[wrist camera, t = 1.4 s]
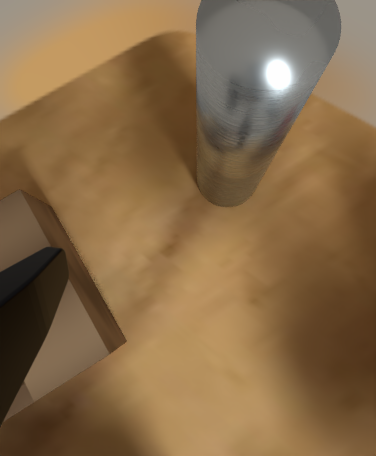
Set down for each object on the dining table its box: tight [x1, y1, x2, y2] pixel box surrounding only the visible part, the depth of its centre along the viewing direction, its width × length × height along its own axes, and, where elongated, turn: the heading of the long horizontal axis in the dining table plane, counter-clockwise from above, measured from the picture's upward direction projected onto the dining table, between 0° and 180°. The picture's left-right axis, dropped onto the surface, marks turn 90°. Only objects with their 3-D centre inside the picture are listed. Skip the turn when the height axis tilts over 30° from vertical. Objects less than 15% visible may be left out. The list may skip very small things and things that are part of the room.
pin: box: [196, 0, 341, 207], centre depth 16 cm, size 4×4×13 cm
